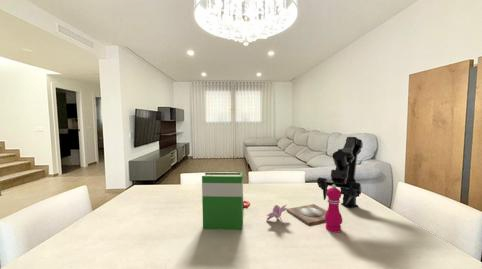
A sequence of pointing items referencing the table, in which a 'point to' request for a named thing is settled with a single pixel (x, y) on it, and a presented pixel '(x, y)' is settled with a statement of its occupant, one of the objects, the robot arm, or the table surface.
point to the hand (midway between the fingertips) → (334, 201)
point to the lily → (276, 212)
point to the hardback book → (222, 201)
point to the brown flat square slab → (309, 214)
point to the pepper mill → (333, 210)
